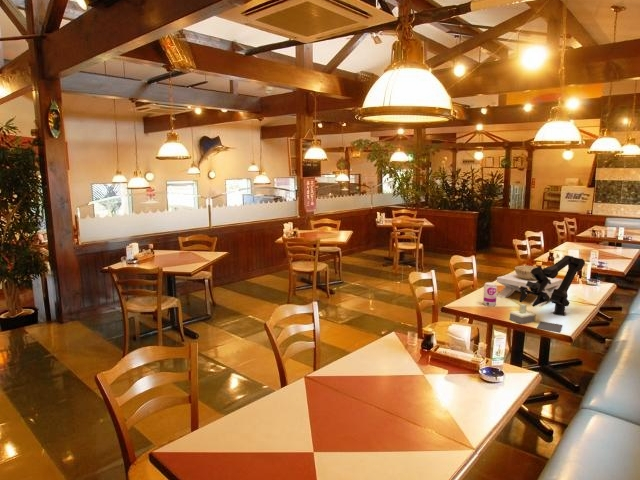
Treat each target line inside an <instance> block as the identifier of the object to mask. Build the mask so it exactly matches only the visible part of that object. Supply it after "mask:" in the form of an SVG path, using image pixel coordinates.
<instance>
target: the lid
mask: <svg viewBox="0 0 640 480" xmlns="http://www.w3.org/2000/svg"><path fill="white" fill-rule="evenodd" d="M527 307H528V306H527V304H525V303H522V304H521V303H520V304H519V310H513V311H510V312H509V315H510V314H513V315H516V316H519V317H521V318H523V317H529V316H534V315H535V316H536V313H533V312H531V311H528V310H527Z"/></svg>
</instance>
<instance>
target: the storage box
mask: <svg viewBox="0 0 640 480" xmlns="http://www.w3.org/2000/svg"><path fill="white" fill-rule="evenodd" d="M509 320H510V321H512V322H515V323H517V324H520V325H524V324H529V323H534V322H535V321H536V314H535V315H534V316H529V317H523V318H521V317H519V316H516V315H513V314H510V313H509Z"/></svg>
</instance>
